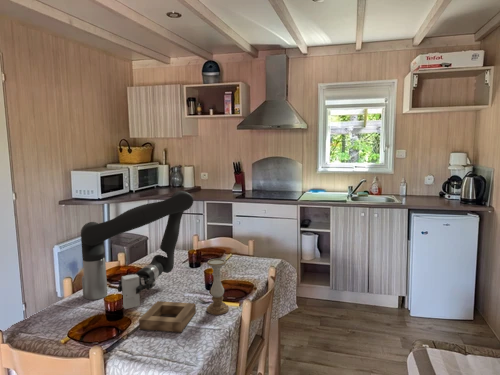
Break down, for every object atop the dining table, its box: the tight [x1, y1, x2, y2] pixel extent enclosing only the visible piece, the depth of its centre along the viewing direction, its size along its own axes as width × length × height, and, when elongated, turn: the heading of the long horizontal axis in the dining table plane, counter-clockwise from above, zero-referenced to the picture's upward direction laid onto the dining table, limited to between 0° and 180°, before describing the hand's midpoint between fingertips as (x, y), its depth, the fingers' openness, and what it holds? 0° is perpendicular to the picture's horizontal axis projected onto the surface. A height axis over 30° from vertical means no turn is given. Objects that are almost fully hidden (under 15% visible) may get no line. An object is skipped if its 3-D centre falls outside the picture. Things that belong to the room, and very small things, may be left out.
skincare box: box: [121, 273, 141, 310], centre depth 146 cm, size 6×4×12 cm
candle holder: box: [206, 258, 230, 316], centre depth 148 cm, size 9×9×20 cm
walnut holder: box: [138, 300, 197, 334], centre depth 140 cm, size 16×16×4 cm
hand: (127, 290), depth 144 cm, fingers closed on skincare box, 7 cm apart
